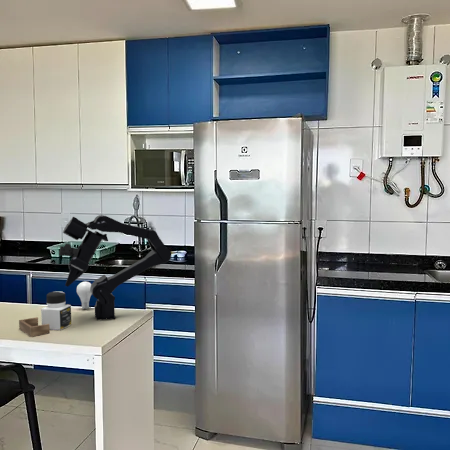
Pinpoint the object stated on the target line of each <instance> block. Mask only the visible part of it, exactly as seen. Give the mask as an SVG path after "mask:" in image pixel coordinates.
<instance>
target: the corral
mask: <svg viewBox="0 0 450 450" xmlns="http://www.w3.org/2000/svg"><path fill="white" fill-rule="evenodd" d="M18 324H19V325H18V326H19V328H18V329H19V330H20V331H22V332H23V333H25V334H26V335H27V336H29V337H30V338H32V337H37V336H42V335H47V334H50V332H51V331H50V327H49V324H44V325H42V324H40V325H39V317H37V316H36V317H30V318H23V319H19V320H18Z"/></svg>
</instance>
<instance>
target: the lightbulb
mask: <svg viewBox="0 0 450 450" xmlns="http://www.w3.org/2000/svg"><path fill="white" fill-rule="evenodd" d="M91 284H92V283H91V282H89V281H82V282H80V283H78V285H77V286H76V294H77V296H78V297H79V299H80V302H81V309H83V310H88V309H89V307H90V299H91V296H93V294H92V293H91V291H90V287H91Z"/></svg>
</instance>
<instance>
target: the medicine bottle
mask: <svg viewBox="0 0 450 450" xmlns="http://www.w3.org/2000/svg"><path fill="white" fill-rule="evenodd" d="M66 302H67V301H66V293H65V292H63V291H56V290H55V291H50V292H48V293H47V294H46V305H47V306H44V307H42V308H41V309H40V312H41V315H40V316H41V325H44V324H49V327H50V330H51V331H63V330H64V329H66V328H68V327H69V326H71V325H72V305H71V304H66Z"/></svg>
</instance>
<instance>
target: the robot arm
mask: <svg viewBox="0 0 450 450" xmlns="http://www.w3.org/2000/svg"><path fill="white" fill-rule="evenodd" d="M92 230H93V231H94V232H93V231H92ZM97 230H98V231H97ZM99 231H100V232H99ZM101 232H102V233H101ZM107 233H120V234H125V235H129V236H132V237H137V238H141V239H146V240H147V242H148V244H149V247H150V249H151V251H149V252H148V253H147V254H146V255H145V256H144V257H143V258H140V259H139V260H138V261H136V262H135V263H133V264H131V265H129V266H126V267H125V268H124V269H122V270H120V271H119V272H117V273H114V274H113V275H110V276H106V275H105V274H103V275H101V276H100V277H99V278H96V279H93V280H94V281H93V282H92V283H91V287H90V291H91V293H92V296H93V297H94V298H95V299H96V302H95V305H94V307H93V308H94V318H95V319H96V321H106V320H115V319H116V315H115V314H116V313H115V309H116V308H115V300H116V297H115V295H113V292H114V291H115V290H116V289H117V287H119V286H120V285H122V284H124V283H126V282H127V281H130V280H131V279H132V278H134V277H136V276H138V275H139V274H141V273H143V272H145V271H146V270H148V269H150V268H152V267H156V266H160V265H162V264H166V263H168V262H169V261H170V260H171V258H172V251H171V250H170V249H169V248H168V247H166V245H165V243H164V242H163V240H162V239H161V238H160V237H159V235H158V233H157V231H156V230H154V229H148V228H143V227H139V226H135V225H132V224H128V223H123V222H120V221H118V220H116V219H113V218H111V217H109V216H107V215H103V214H99V215H97V216H96V217H94V220H92V221H89V222H87V223H84V222H83V221H81V219H78V218H77V217H75V216H72V218H71V219H70V220H69V221H68V223H66V225H65V227H64V228H63V231H62V234H63V235H66V236H67V237H70V238H72V239H74V240H75V241H78V240H82V241H81V243H80V244H79V245H78V247H72V246H71V244H69V243H65V244H64V246H63V245H62V246H59V251H58V256H61V257H62V256H63V257H64V256H65V257H71V259H70V260H69V262H68V269H69V273H68V275H67V278H66V281H65V285H64V286H65V287H69V286H71V285H72V284H73V283H74V282H75V281H77V279H79V278H80V277H81V276H82V275H84V274H85V272H87V271H88V269H89V267H90V262H91V260H92V258H93V256H94V255H95V254H96V251H97V249H98V247H99V246H100V244H101V243H102V241H104V242H109V239H108V236H107V235H108V234H107Z"/></svg>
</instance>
